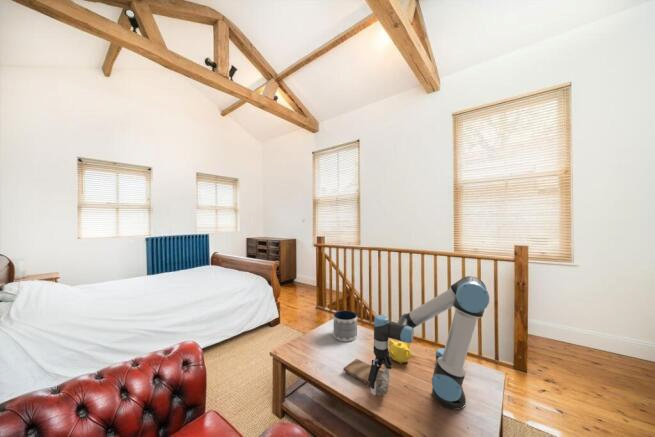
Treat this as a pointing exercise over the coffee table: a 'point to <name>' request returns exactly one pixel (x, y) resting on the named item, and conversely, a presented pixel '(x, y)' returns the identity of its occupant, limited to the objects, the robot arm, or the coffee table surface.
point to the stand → (359, 370)
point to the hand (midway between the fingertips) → (380, 386)
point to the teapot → (399, 351)
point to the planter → (345, 326)
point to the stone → (382, 383)
